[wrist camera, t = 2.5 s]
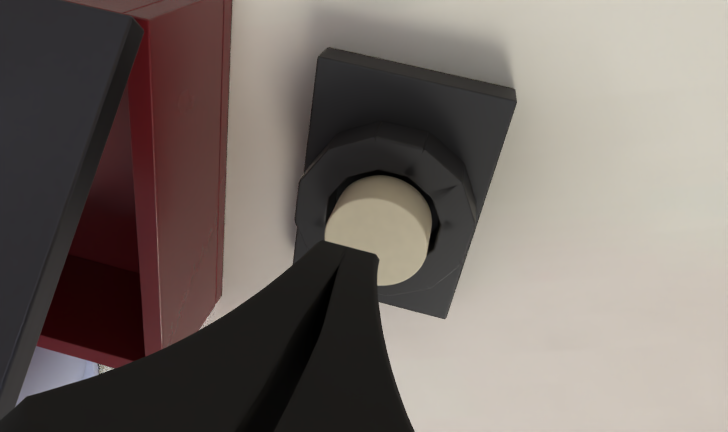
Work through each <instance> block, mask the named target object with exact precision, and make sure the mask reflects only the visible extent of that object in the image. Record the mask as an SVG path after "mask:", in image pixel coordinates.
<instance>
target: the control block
mask: <svg viewBox="0 0 728 432" xmlns="http://www.w3.org/2000/svg"><path fill="white" fill-rule="evenodd" d="M516 104H517V100H516V92H515V89H512V88H508V87H503V86H499V85H494V84H490V83H485V82H481V81H476V80H472V79H467V78H463V77H459V76H454V75H450V74H445V73H441V72H436V71H432V70H427V69H423V68H418V67H414V66H409V65H405V64H400V63H396V62H391V61H387V60H383V59H378V58H374V57H369V56H365V55H360V54H356V53H351V52H347V51H342V50H338V49H333V48H327V49H326V50H325V51H324V52H322V53H321V54H320V55H319V56H318V59H317V67H316V75H315V84H314V92H313V100H312V109H311V117H310V125H309V134H308V142H307V150H306V159H305V167H304V175H303V176H302V178H301V179H300V182H299V187H298V195H297V204H296V212H295V223H296V226H297V234H296V242H295V250H294V259H293V264H294V263H296V262H297V261H298V260H299V259H300V258H301V257H302V256H303V255H305V254H306V253H307V252H308V251H309V250H310V249H311V248H312V247H313V246H314V245H315V244H316V243H317V242H319V241H321V240H324V241H325V228H326V224H327V222H328V219H329V217H330V215H331V213H332V211H333V209H334V207H335V205H336V203H337V201H338V199H339V197H340V196H341V194H342V192H343V191H344V190H345V189H346V188H347V187H348V186H349V185H350V184H352V183H353V182H355V181H357V180H359V179H361V178H364V177H368V176H374V175H385V176H391V177H395V178H398V179H401V180H403V181H405V182H407V183H409V184H410V185H412V186H413V187H414V188H416V189H417V190H418V191H419V192H420V193H421V195H422V196H423V197H424V198H425V200H426V202H427V203H428V206H429V208H430V211H431V216H432V228H431V233H430V239H429V245H428V250H427V255H426V258H425V261H424V263H423V265H422V266H421V268H420V269H419V270H418V271H417V272H416V273H415V274H414V275H413V276H411V277H410V278H409V279H407V280H405V281H403V282H400V283H397V284H393V285H386V286H378V285H377V290H378V302H381V303H385V304H388V305H392V306H396V307H400V308H404V309H408V310H411V311H415V312H419V313H423V314H427V315H431V316H434V317H438V318H442V319H446V317H447V314H448V311H449V308H450V305H451V302H452V299H453V296H454V293H455V290H456V287H457V284H458V281H459V278H460V275H461V271H462V268H463V265H464V262H465V259H466V256H467V253H468V250H469V247H470V244H471V241H472V238H473V235H474V232H475V229H476V226H477V223H478V220H479V217H480V213H481V210H482V207H483V204H484V201H485V198H486V195H487V192H488V189H489V186H490V183H491V180H492V177H493V174H494V171H495V168H496V165H497V162H498V159H499V155H500V152H501V149H502V146H503V143H504V140H505V137H506V134H507V131H508V128H509V125H510V122H511V119H512V116H513V113H514V110H515V107H516Z"/></svg>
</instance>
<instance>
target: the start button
mask: <svg viewBox="0 0 728 432" xmlns="http://www.w3.org/2000/svg"><path fill="white" fill-rule="evenodd" d="M431 228H432V216H431V211H430V208H429V206H428V203H427V202H426V200H425V198H424V197H423V196H422V195H421V193H420V192H419V191H418V190H417V189H416V188H414V187H413V186H412V185H410V184H409V183H407V182H405V181H403V180H401V179H398V178H395V177H391V176H385V175H374V176H368V177H364V178H361V179H359V180H357V181H355V182H353V183H352V184H350V185H349V186H348V187H347V188H346V189H345V190H344V191H343V192H342V194H341V196H340V197H339V199H338V201H337V203H336V205H335V207H334V209H333V211H332V213H331V215H330V217H329V219H328V222H327V224H326V228H325V241H328V242H332V243H336V244H339V245H343V246H347V247H351V248H355V249H359V250H362V251H366V252H370V253H374V254H376V255H377V256H378V258H379V259H380V261H379V265H378V272H377V285H378V286H386V285H393V284H397V283H400V282H403V281H405V280H407V279H409V278H410V277H411V276H413V275H414V274H415V273H416V272H417V271H418V270H419V269H420V268H421V266H422V265H423V263H424V261H425V258H426V255H427V250H428V245H429V239H430V233H431Z"/></svg>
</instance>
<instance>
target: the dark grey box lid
mask: <svg viewBox="0 0 728 432" xmlns="http://www.w3.org/2000/svg"><path fill="white" fill-rule="evenodd" d="M143 34H144V29H143V28H142V27H141V26H140V25H139V23H138V22H137V21H136V20H135V19H134V18H133V17H132V16H129V15H125V14H120V13H116V12H111V11H107V10H103V9H98V8H94V7H89V6H85V5H80V4H76V3H72V2H67V1H63V0H0V420H1V419H2V418H3V417H4V416H6V415H7V414H8V413H9V412H10V411H11V410H12V409H14V408H15V406H16V403H17V400H18V397H19V394H20V392H21V389H22V386H23V383H24V380H25V377H26V374H27V371H28V368H29V365H30V363H31V360H32V357H33V354H34V351H35V348H36V345H37V342H38V339H39V336H40V333H41V331H42V328H43V325H44V322H45V319H46V316H47V313H48V310H49V307H50V304H51V302H52V299H53V296H54V293H55V290H56V287H57V284H58V281H59V278H60V275H61V272H62V270H63V267H64V264H65V261H66V258H67V255H68V252H69V249H70V246H71V243H72V241H73V238H74V235H75V232H76V229H77V226H78V223H79V220H80V217H81V214H82V211H83V209H84V206H85V203H86V200H87V197H88V194H89V191H90V188H91V185H92V182H93V180H94V177H95V174H96V171H97V168H98V165H99V162H100V159H101V156H102V153H103V150H104V148H105V145H106V142H107V139H108V136H109V133H110V130H111V127H112V124H113V121H114V119H115V116H116V113H117V110H118V107H119V104H120V101H121V98H122V95H123V92H124V89H125V87H126V84H127V81H128V78H129V75H130V72H131V69H132V66H133V63H134V60H135V58H136V55H137V52H138V49H139V46H140V43H141V40H142V37H143Z"/></svg>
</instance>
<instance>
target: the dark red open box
mask: <svg viewBox="0 0 728 432" xmlns="http://www.w3.org/2000/svg"><path fill="white" fill-rule="evenodd" d="M63 1H67V2H72V3H76V4H80V5H85V6H89V7H94V8H98V9H103V10H107V11H111V12H116V13H120V14H125V15H129V16H132V17H133V18H134V19H135V20H136V21H137V22H138V23H139V25H140V26H141V27H142V28H143V29H144V34H143V37H142V40H141V43H140V46H139V49H138V52H137V55H136V58H135V60H134V63H133V66H132V69H131V72H130V75H129V78H128V81H127V84H126V87H125V89H124V92H123V95H122V98H121V101H120V104H119V107H118V110H117V113H116V116H115V119H114V121H113V124H112V127H111V130H110V133H109V136H108V139H107V142H106V145H105V148H104V150H103V153H102V156H101V159H100V162H99V165H98V168H97V171H96V174H95V177H94V180H93V182H92V185H91V188H90V191H89V194H88V197H87V200H86V203H85V206H84V209H83V211H82V214H81V217H80V220H79V223H78V226H77V229H76V232H75V235H74V238H73V241H72V243H71V246H70V249H69V252H68V255H67V258H66V261H65V264H64V267H63V270H62V272H61V275H60V278H59V281H58V284H57V287H56V290H55V293H54V296H53V299H52V302H51V304H50V307H49V310H48V313H47V316H46V319H45V322H44V325H43V328H42V331H41V333H40V336H39V339H38V342H37V345H36V346H37V347H41V348H45V349H48V350H52V351H55V352H59V353H62V354H66V355H69V356H73V357H76V358H80V359H83V360H87V361H91V362H94V363H98V364H101V365H105V366H108V367H112V368H118V367H121V366H123V365H126V364H128V363H131V362H133V361H136V360H138V359H141V358H143V357H146V356H148V355H150V354H153V353H155V352H157V351H159V350H161V349H163V348H166V347H168V346H170V345H172V344H174V343H176V342H178V341H180V340H182V339H184V338H186V337H188V336H190V335H191V334H193V333H195V332H197V331H198V330H199V329H200V327H201V326H202V324H203V323H204V321H205V320H206V318H207V317H208V315H209V314H210V313H211V311H212V310H213V308H214V307H215V304H216V303H217V302H218V300H219V299H220V297H221V296H222V271H223V242H224V214H225V185H226V157H227V128H228V100H229V72H230V43H231V15H232V0H63Z"/></svg>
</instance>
